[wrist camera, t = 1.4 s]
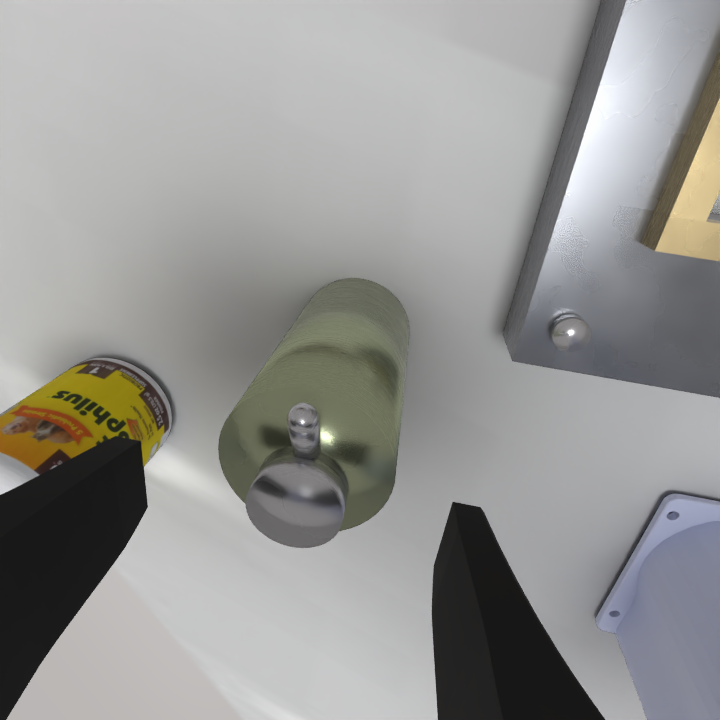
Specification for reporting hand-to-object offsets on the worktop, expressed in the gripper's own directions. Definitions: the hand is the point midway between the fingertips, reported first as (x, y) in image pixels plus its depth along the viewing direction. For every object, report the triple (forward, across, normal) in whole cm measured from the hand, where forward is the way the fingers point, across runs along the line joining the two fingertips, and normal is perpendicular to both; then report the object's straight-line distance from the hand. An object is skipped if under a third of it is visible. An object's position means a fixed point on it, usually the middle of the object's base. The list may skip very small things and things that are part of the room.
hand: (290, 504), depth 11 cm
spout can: (+10, 0, 0) cm, 10 cm away
